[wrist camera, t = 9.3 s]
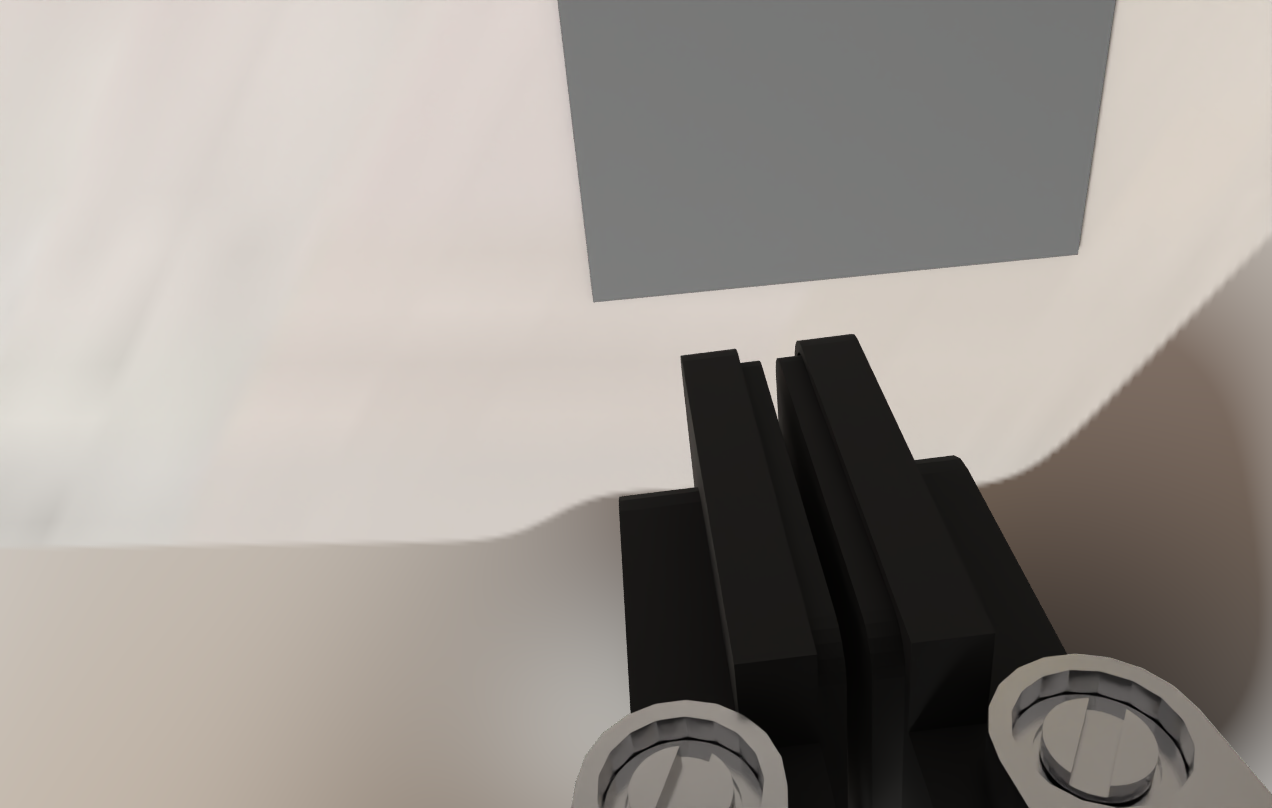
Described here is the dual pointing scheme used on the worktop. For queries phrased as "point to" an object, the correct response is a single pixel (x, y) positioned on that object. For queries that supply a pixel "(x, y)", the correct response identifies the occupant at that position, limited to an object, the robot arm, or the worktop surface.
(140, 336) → the worktop surface
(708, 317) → the worktop surface
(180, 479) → the worktop surface
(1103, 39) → the t mat
